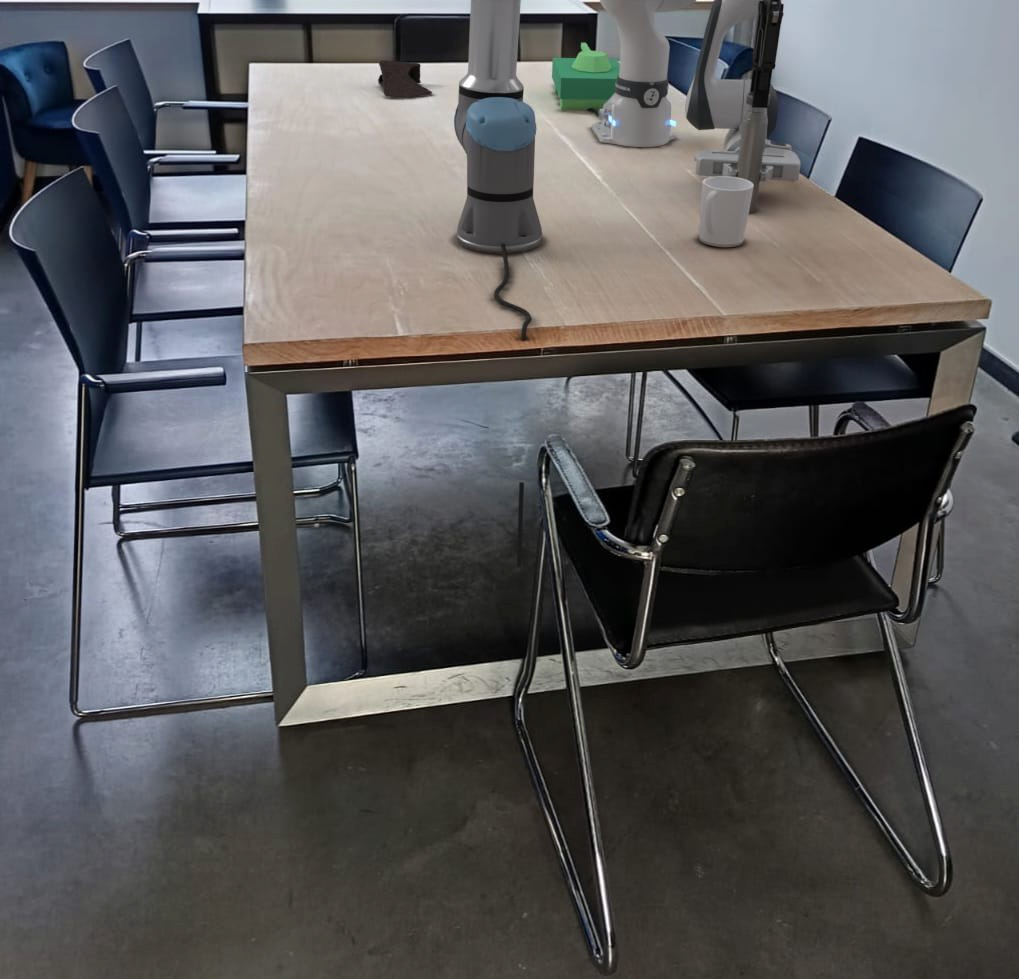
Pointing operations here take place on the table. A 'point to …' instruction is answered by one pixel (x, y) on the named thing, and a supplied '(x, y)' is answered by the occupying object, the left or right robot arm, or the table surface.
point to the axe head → (401, 79)
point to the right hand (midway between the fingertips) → (748, 176)
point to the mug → (724, 210)
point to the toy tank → (585, 79)
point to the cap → (750, 98)
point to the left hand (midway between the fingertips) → (757, 104)
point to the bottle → (752, 149)
